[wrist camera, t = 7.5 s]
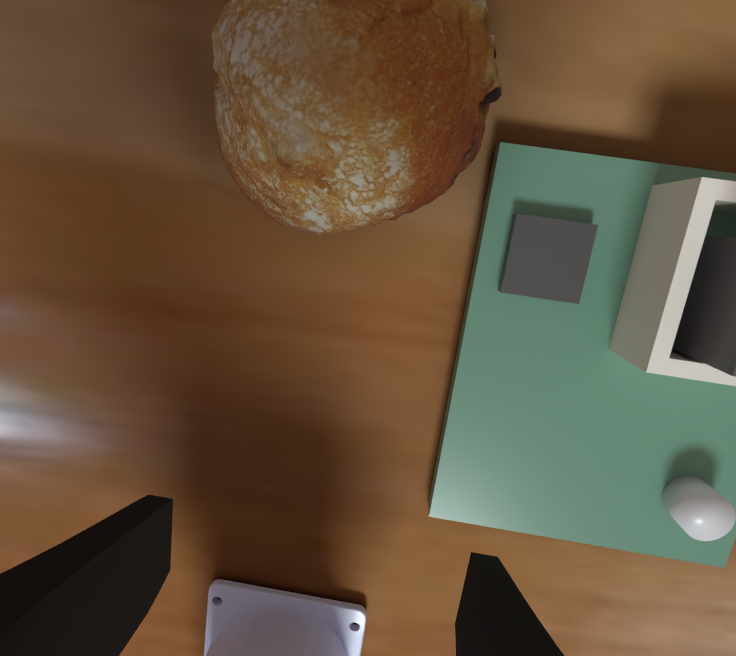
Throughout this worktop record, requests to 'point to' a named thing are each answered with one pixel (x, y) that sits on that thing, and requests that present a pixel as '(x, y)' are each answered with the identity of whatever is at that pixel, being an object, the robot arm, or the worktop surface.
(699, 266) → the plug
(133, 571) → the robot arm
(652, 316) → the white rectangular frame
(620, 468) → the board
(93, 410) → the worktop surface
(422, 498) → the worktop surface
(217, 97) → the bread roll
